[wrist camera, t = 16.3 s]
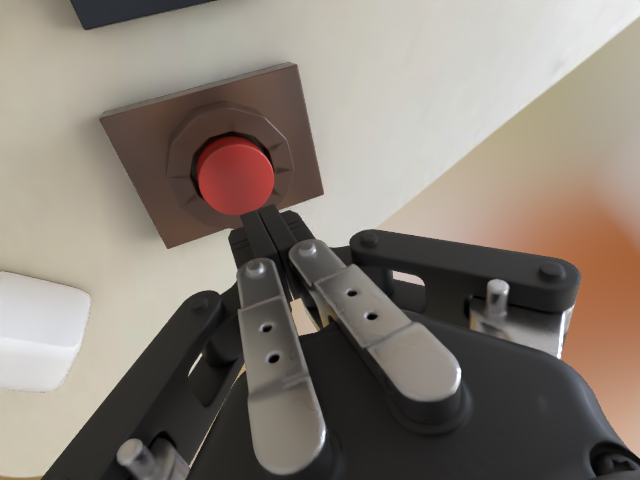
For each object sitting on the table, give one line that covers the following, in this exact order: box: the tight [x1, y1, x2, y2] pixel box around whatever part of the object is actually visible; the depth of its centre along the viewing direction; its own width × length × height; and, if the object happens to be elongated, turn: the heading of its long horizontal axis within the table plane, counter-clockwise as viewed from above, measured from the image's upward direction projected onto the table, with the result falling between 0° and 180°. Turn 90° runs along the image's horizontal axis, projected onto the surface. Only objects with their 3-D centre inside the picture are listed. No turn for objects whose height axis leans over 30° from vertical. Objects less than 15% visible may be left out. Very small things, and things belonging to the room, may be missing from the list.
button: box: [196, 136, 274, 215], centre depth 21 cm, size 4×4×2 cm
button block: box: [100, 62, 324, 249], centre depth 22 cm, size 11×8×4 cm
